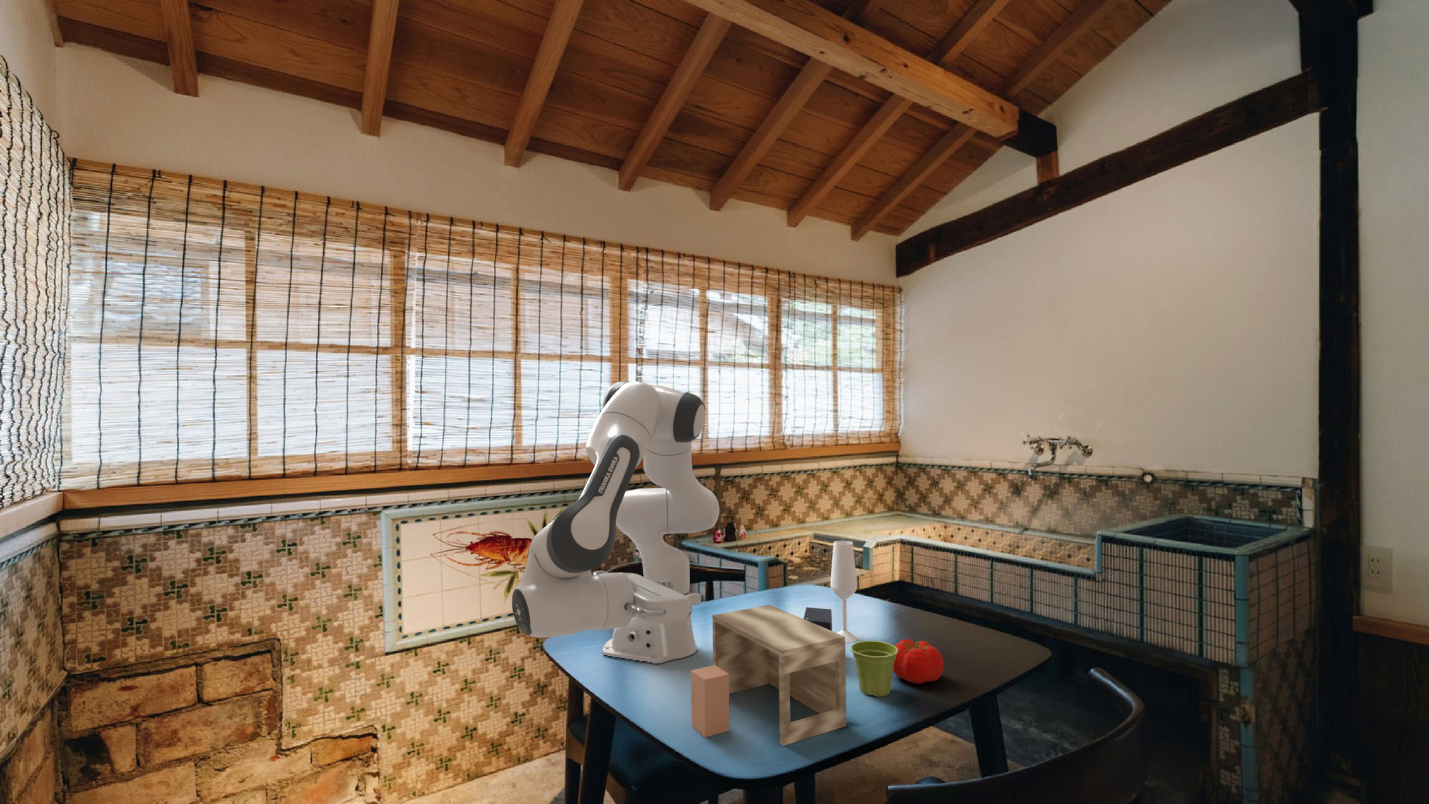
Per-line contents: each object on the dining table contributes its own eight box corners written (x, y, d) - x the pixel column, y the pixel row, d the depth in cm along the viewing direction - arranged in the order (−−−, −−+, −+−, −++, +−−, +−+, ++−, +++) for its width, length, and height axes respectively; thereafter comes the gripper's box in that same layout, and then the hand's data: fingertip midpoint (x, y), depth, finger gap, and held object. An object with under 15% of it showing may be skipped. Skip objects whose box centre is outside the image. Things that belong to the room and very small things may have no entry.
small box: (831, 668, 146) (831, 621, 146) (802, 667, 147) (801, 619, 148) (833, 652, 156) (832, 607, 157) (805, 650, 158) (804, 606, 158)
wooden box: (783, 745, 112) (782, 650, 112) (713, 695, 133) (712, 615, 133) (846, 725, 119) (845, 636, 119) (770, 680, 140) (769, 604, 140)
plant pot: (870, 704, 128) (869, 659, 128) (842, 686, 136) (841, 644, 136) (908, 696, 131) (907, 652, 132) (879, 679, 140) (878, 638, 140)
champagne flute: (857, 634, 169) (856, 540, 170) (858, 642, 162) (857, 545, 163) (831, 632, 170) (829, 539, 171) (831, 641, 164) (829, 544, 164)
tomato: (954, 685, 136) (953, 649, 137) (908, 692, 133) (907, 654, 133) (924, 667, 147) (923, 633, 147) (880, 672, 143) (879, 638, 144)
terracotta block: (704, 737, 115) (704, 679, 115) (691, 726, 119) (691, 670, 120) (729, 730, 118) (728, 674, 118) (715, 719, 122) (714, 665, 122)
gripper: (642, 595, 101) (717, 586, 108) (590, 569, 118) (658, 563, 125) (641, 637, 100) (716, 625, 108) (588, 605, 118) (657, 596, 125)
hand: (684, 591), depth 117 cm, fingers open, 8 cm apart
